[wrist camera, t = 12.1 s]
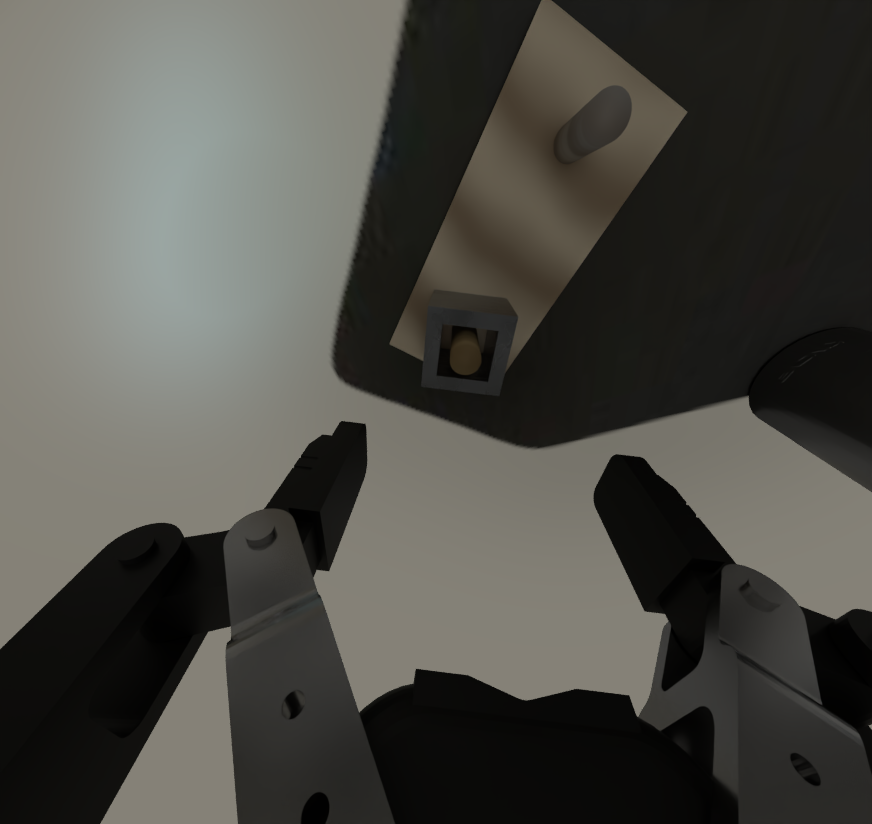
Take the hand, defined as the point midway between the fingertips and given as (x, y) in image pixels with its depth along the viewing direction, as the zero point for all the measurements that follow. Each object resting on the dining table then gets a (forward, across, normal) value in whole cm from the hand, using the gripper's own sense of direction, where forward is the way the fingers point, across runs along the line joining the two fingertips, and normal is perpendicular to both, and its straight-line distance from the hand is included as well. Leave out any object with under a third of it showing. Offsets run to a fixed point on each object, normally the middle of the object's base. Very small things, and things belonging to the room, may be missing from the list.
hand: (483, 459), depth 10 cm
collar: (+17, 0, +1) cm, 17 cm away
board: (+18, -2, -5) cm, 19 cm away
